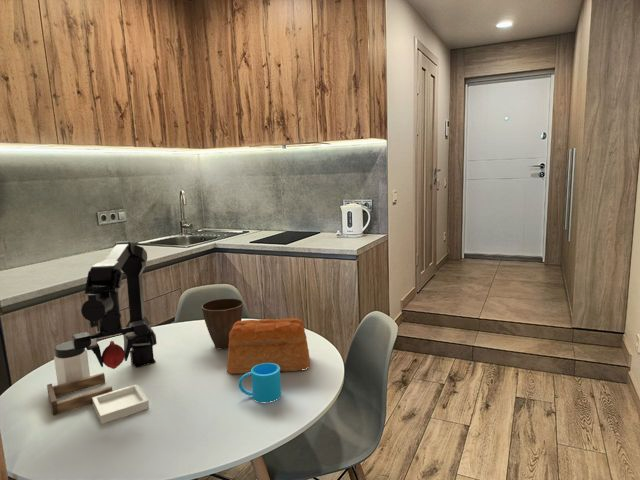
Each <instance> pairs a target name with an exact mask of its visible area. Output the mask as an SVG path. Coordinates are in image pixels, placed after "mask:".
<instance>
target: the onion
mask: <svg viewBox="0 0 640 480" xmlns="http://www.w3.org/2000/svg"><path fill="white" fill-rule="evenodd" d="M101 356H102V360H103V365H105V367H107V368H109V369H112V370H115V369H117V368H118V367H119V366H120V365H121V364H122V363H123V361H125V359H124V357H125V354H124V347H122V346H121V345H119V344H117V343H115V341H114V340H111V341H109V344H108V345H107V346H106V347H105V348H104V349H103V351H102V352H101Z"/></svg>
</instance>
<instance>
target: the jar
mask: <svg viewBox="0 0 640 480" xmlns="http://www.w3.org/2000/svg"><path fill="white" fill-rule="evenodd" d="M54 354H55V355H54V356H53V359H54V365H55V366H54V367H55V375H56V384H57V385H60V384H64V383H67V382H71V381H75V380H78V379H82V378H86V377H89V376H91V373H90V365H89V355H88V350H87V349H86V348H83V349H79V350H75V349H74V347H73V345H72V340H69V341H65V342H62V343H59V344H58V345H56V346H55V347H54Z"/></svg>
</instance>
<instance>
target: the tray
mask: <svg viewBox="0 0 640 480" xmlns="http://www.w3.org/2000/svg"><path fill="white" fill-rule="evenodd" d="M92 401H93V404H92V407H93V409H94V410H95V413H96V416H97V417H98V420H99V422H100V425H103V424H106V423H109V422H112V421H115V420H117V419H121V418H124V417H127V416H129V415H132V414H136V413H139V412H141V411H144V410H147V409H150V405H149V403H150V402H149V399H148V397H147V396H146V395H145V393H144V392H143V391H142V390H141V388H140V387H139V385H138V384H133V385H128V386H126V387H122V388H119V389H116V390H113V391H112V392H109V393H105V394H102V395H99V396H95V397H92Z"/></svg>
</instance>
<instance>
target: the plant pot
mask: <svg viewBox="0 0 640 480" xmlns="http://www.w3.org/2000/svg"><path fill="white" fill-rule="evenodd" d="M243 306H244V301H243V300H241V299H240V298H239V299H238V298H218V299H217V298H216V299H212V300H209V301H207V302H204V303H202V305H201V310H202V315H203V320H204V323H205V325H206V328H207V331H208V333H209V336H210V339H211V341H212V343H213V345H214V347H215V348H216V349H219V350H227V349H228V348H229V333H230V331H231V330H232V327H233V325H234V323H236V322H237V321H243V320H242V319H243V312H244V311H243V310H244V309H243V308H244V307H243ZM228 350H229V349H228Z"/></svg>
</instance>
